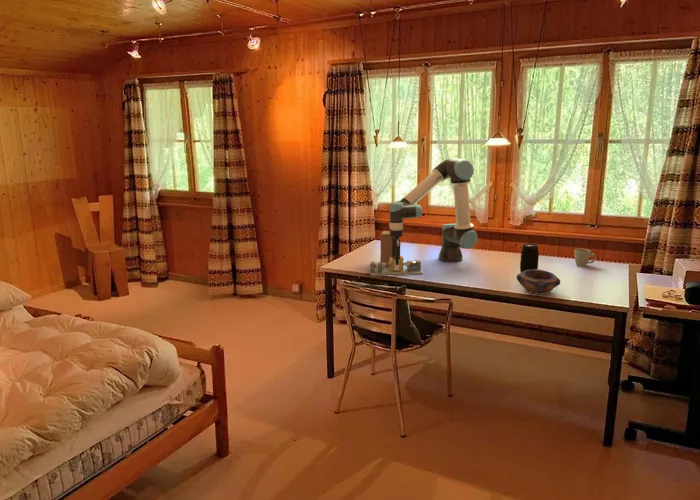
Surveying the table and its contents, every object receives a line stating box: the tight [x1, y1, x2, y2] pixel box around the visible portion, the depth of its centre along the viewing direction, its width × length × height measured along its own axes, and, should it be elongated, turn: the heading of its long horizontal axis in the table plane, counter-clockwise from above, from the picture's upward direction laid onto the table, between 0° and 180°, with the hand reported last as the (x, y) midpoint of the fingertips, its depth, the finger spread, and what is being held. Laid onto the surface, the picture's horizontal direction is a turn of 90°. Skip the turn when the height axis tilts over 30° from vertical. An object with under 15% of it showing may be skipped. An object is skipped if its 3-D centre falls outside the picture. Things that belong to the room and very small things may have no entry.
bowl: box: [516, 269, 561, 295], centre depth 266 cm, size 18×18×10 cm
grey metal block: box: [404, 259, 422, 272], centre depth 305 cm, size 9×4×6 cm, turn 111°
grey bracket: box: [369, 261, 387, 273], centre depth 303 cm, size 9×4×6 cm, turn 81°
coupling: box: [388, 255, 405, 272], centre depth 303 cm, size 9×5×8 cm, turn 96°
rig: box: [368, 267, 424, 277], centre depth 304 cm, size 30×10×2 cm, turn 96°
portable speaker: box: [519, 242, 540, 273], centre depth 288 cm, size 9×9×20 cm
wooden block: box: [379, 230, 393, 267], centre depth 321 cm, size 10×10×20 cm
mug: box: [574, 248, 597, 268], centre depth 315 cm, size 12×9×10 cm
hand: (395, 268), depth 303 cm, fingers closed on coupling, 5 cm apart
